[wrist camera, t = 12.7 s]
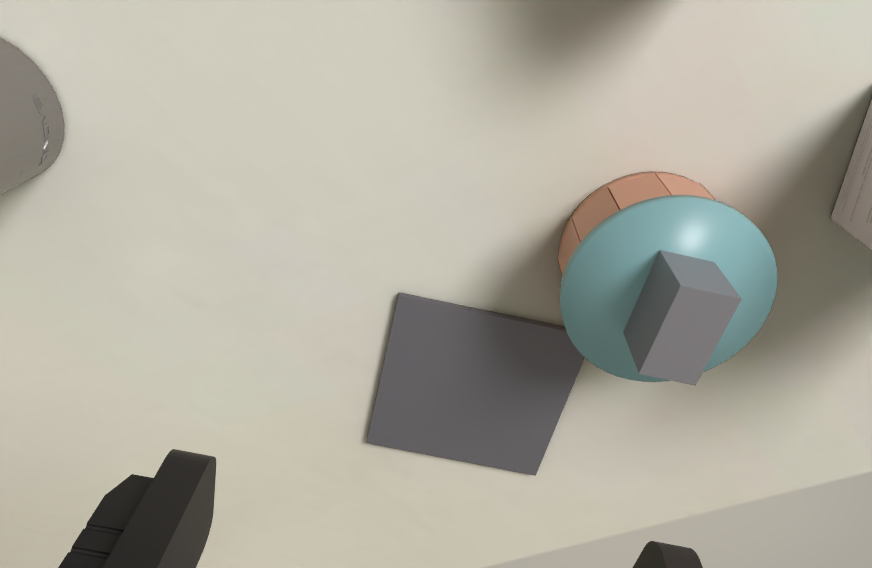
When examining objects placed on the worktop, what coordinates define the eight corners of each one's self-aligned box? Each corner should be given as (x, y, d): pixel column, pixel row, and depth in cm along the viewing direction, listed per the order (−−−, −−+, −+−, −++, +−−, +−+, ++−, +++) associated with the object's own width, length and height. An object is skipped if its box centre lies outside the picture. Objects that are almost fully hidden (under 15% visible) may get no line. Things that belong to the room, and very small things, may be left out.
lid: (534, 352, 39) (542, 402, 35) (599, 173, 34) (618, 207, 29) (716, 390, 40) (745, 443, 36) (811, 221, 34) (859, 261, 30)
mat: (367, 438, 51) (366, 442, 50) (399, 292, 44) (398, 296, 44) (534, 471, 52) (535, 475, 51) (591, 332, 45) (592, 336, 45)
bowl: (538, 301, 44) (547, 347, 39) (589, 154, 39) (607, 186, 34) (686, 332, 45) (712, 381, 40) (756, 192, 39) (795, 228, 35)
